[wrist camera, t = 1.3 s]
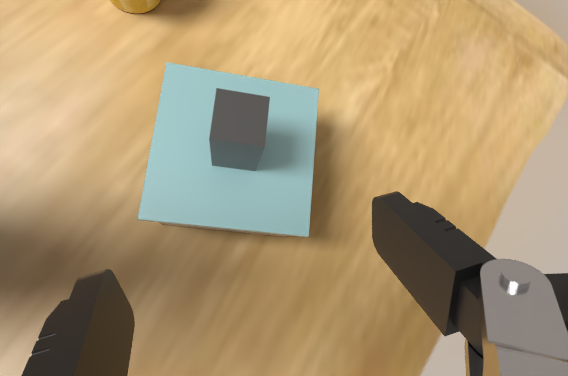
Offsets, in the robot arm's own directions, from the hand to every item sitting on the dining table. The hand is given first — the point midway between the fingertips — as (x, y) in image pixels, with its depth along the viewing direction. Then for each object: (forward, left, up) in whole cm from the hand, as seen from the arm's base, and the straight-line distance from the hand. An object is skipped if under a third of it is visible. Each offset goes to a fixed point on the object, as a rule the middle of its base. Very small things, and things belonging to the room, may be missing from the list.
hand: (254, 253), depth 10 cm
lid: (-1, +10, -21) cm, 23 cm away
